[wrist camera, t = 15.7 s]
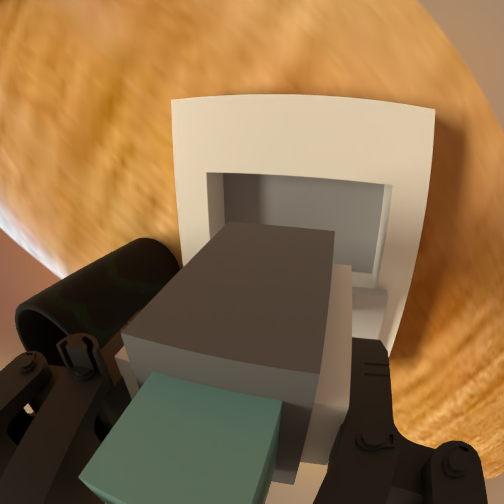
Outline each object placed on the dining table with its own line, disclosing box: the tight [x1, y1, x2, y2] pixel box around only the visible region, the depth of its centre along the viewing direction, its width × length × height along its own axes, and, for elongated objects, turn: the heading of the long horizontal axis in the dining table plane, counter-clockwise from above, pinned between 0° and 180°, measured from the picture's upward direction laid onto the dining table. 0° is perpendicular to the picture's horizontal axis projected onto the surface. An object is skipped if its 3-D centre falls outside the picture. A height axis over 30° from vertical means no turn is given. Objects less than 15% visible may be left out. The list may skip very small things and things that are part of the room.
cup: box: [15, 238, 180, 367], centre depth 20 cm, size 8×8×12 cm
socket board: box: [171, 94, 435, 357], centre depth 20 cm, size 19×14×4 cm
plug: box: [78, 221, 335, 504], centre depth 7 cm, size 5×4×12 cm
